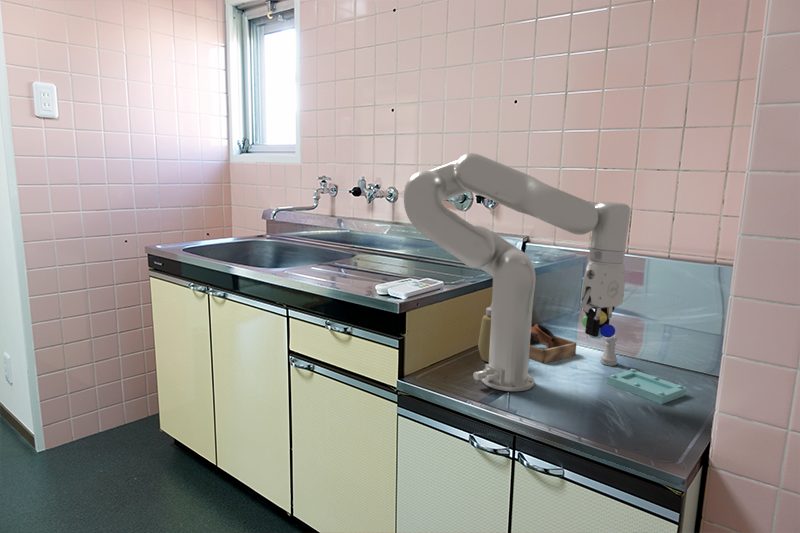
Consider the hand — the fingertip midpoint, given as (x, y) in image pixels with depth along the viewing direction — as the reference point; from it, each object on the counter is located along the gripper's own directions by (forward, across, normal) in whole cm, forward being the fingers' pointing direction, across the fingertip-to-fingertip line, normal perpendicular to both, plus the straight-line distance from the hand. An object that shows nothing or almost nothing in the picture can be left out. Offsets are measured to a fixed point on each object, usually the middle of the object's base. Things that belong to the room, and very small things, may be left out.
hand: (596, 333), depth 126 cm
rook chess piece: (+14, +20, +9) cm, 26 cm away
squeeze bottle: (+15, -6, +27) cm, 31 cm away
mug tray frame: (+14, +11, +26) cm, 32 cm away
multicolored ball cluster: (+1, 0, 0) cm, 1 cm away
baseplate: (+13, +12, -7) cm, 19 cm away
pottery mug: (+14, +11, +28) cm, 33 cm away
